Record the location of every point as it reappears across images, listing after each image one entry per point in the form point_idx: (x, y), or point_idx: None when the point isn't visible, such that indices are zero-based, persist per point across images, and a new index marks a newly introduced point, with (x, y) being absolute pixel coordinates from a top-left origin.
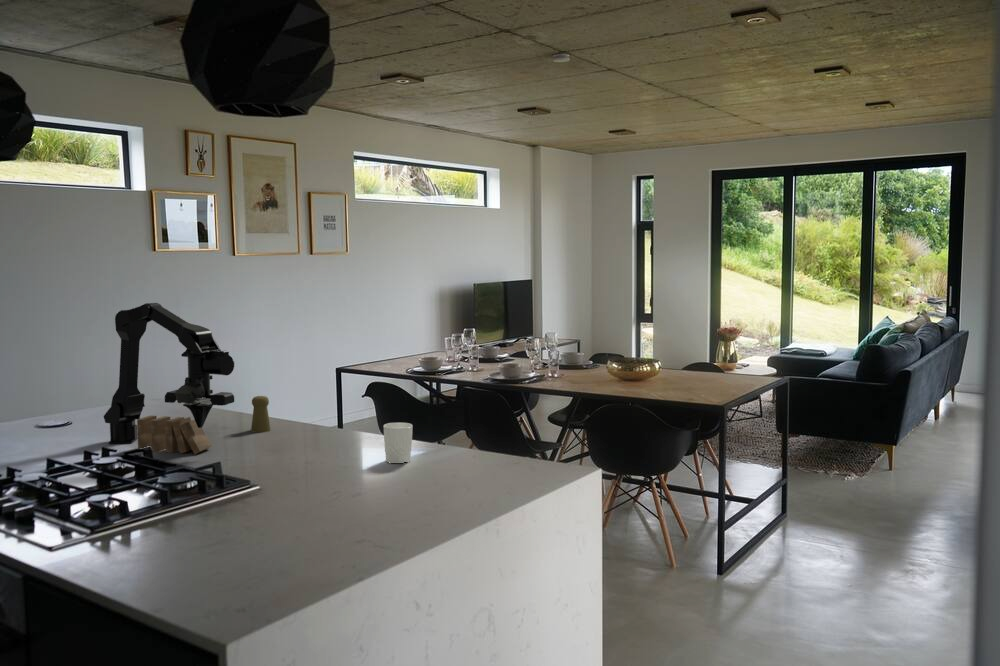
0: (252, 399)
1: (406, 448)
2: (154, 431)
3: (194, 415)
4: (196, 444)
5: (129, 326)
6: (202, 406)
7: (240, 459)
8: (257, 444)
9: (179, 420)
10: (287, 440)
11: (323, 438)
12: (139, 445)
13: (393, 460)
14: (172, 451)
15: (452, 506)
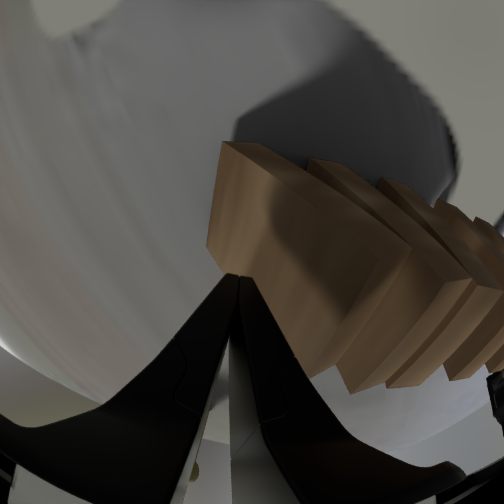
0: (193, 477)
1: None
2: (500, 255)
3: (280, 367)
4: (243, 157)
5: None
6: (4, 438)
7: (27, 100)
8: (95, 307)
9: (425, 317)
10: (63, 335)
11: (24, 337)
12: (497, 231)
13: None
14: (384, 179)
15: None
